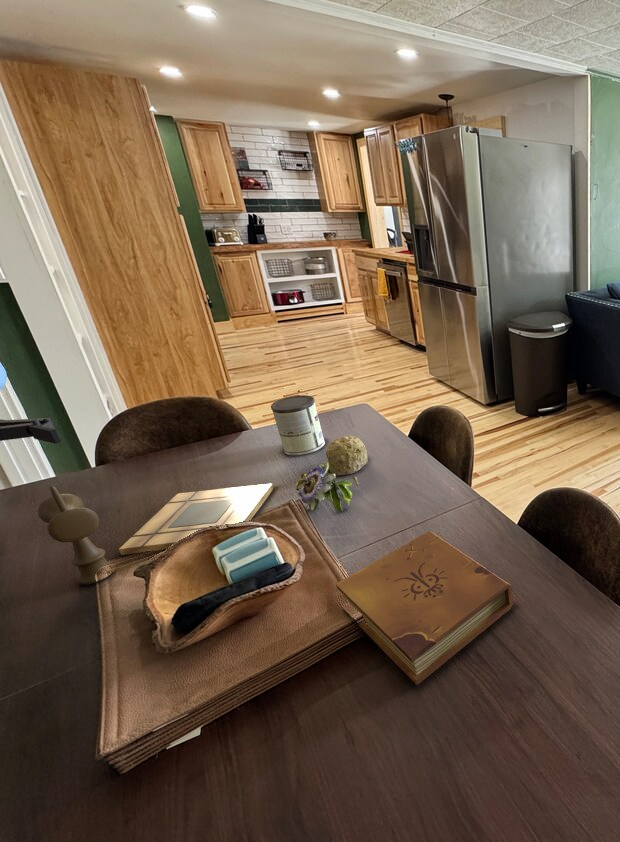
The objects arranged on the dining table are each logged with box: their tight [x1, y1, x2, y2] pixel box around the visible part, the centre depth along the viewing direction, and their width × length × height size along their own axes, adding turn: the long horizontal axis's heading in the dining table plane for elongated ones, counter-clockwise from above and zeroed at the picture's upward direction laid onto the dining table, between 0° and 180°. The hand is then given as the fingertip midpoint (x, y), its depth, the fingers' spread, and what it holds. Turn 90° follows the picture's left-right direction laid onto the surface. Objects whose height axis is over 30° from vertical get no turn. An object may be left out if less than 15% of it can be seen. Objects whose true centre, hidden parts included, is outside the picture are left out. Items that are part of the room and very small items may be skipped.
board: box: [118, 483, 275, 556], centre depth 104 cm, size 20×20×2 cm
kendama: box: [37, 485, 110, 585], centre depth 84 cm, size 6×10×20 cm, turn 57°
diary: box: [335, 530, 514, 686], centre depth 81 cm, size 23×19×6 cm
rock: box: [325, 435, 369, 476], centre depth 125 cm, size 10×11×10 cm
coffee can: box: [270, 394, 326, 456], centre depth 133 cm, size 10×10×14 cm
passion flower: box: [295, 461, 360, 512], centre depth 109 cm, size 11×11×12 cm
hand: (3, 453), depth 81 cm, fingers open, 13 cm apart
